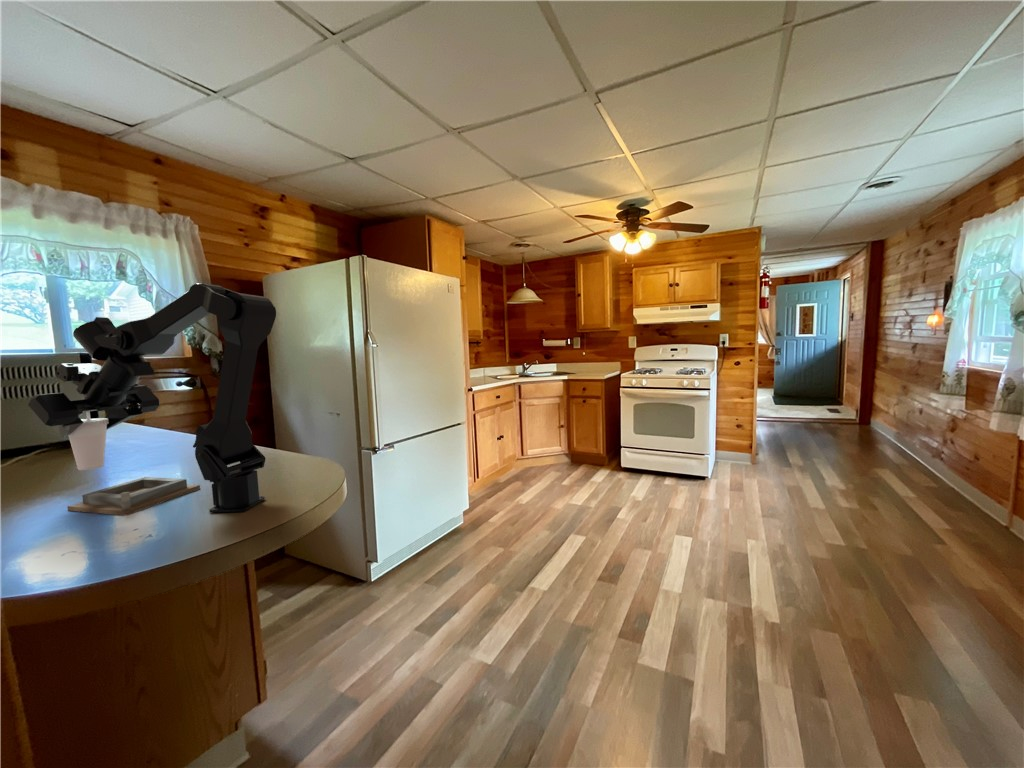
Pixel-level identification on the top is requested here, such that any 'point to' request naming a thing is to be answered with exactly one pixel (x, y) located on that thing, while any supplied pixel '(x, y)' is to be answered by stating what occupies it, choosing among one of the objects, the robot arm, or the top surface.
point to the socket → (133, 495)
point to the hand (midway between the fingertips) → (83, 432)
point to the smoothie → (89, 442)
